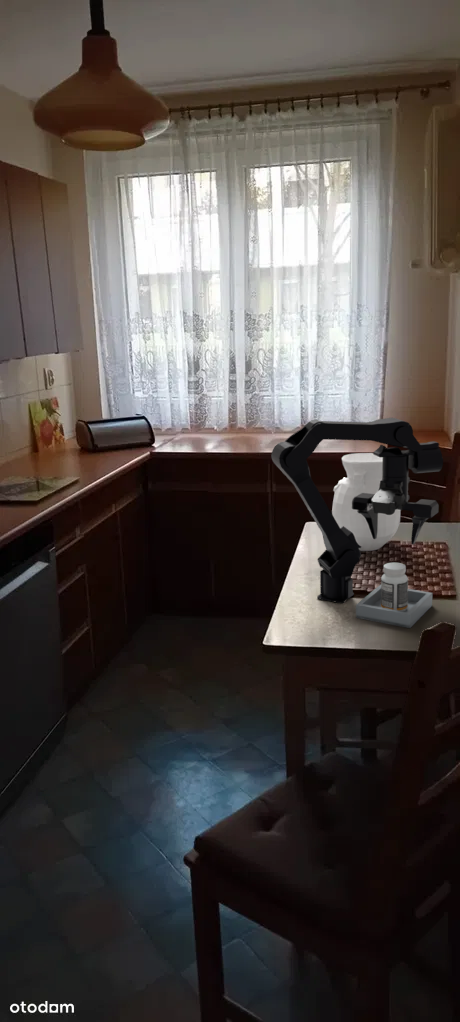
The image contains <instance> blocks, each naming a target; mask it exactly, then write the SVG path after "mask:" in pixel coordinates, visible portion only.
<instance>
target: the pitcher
mask: <svg viewBox="0 0 460 1022" xmlns="http://www.w3.org/2000/svg"><path fill="white" fill-rule="evenodd" d="M382 459H383V457H378V456H376V455H374V454H373V452H359V453H358V452H357V453H349V454H345V455H343V456H342V457H341V463H342V466H343V468H344V470H345V472H346V476H347V477H343V478H342V479H340V480H338V483H337V484H336V485H335V486H334V487H333V492H334V495H333V501H332V510H331V513H332V515H333V517H334V519H335V520H336V522H337V524H338V525H339V527H340V529H341V528H342V527H343V526H344V527H345V528H347V529H348V530H349V531H351V532H352V533H353V534H354V537H355V539H356V542H357V543H358V544H359V545H360V546H361V548H359V550H360V552H368V551H370V552H371V551H377V550H380V549H381V548H382V547H383V546H384V545H385V544H387V543H388V542H389V541H390V540H391V539H392V538H393V536H394V535H396V532H398V530H399V529H398V528H399V526H400V523H401V511H402V510H398V509H396V510H395V512H394V514H392V515H386V514H382V513H378V530H377V538H376V539H373V537H372V534H371V531H370V528H369V525H368V523H367V521H366V519H365V517H364V516H363V515H362V514H360V513H358V512H357V511H358V510H354V509H352V500H353V498H354V497H356V496H358V495H359V494H361V493H368V494H376V492H377V491H378V490H379V487H380V481H381V480H382Z"/></svg>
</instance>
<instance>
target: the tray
mask: <svg viewBox="0 0 460 1022" xmlns="http://www.w3.org/2000/svg"><path fill="white" fill-rule="evenodd" d="M432 606H433V592H429V591H422V590H417V589H411V588H408V607H407V610H406V611H404V612H403V611H398V610H392V609H387V608H381V584H379V585H378V586H377V587H376V588H374V589H373V590H372V591H371V592H369V593H368V595H366V596H365V597H363V598H362V599H361V600H360V601H358V602H357V603H356V604H355V618H356V619H360V620H365V621H370V622H375V623H379V624H385V625H390V626H397V627H401V628H405V629H406V628H407V629H411V628H412V627H413V626H414V625H415V624H416V623H417V622H418V621H419V620H420V619H421V617H423V616H424V615H425V614H426V612H427V611H428V610H430V609H431V607H432Z"/></svg>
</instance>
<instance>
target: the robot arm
mask: <svg viewBox="0 0 460 1022" xmlns="http://www.w3.org/2000/svg"><path fill="white" fill-rule="evenodd" d="M324 440H329V441H330V440H334V441H336V440H337V441H368V442H369V441H372V442H375V443H379V444H380V445H379V446H378V448H377V449H375V450H374V451H373V452H372V453H373V454H374V455H376V456H378V457H383V459H382V480H381V481H380V487H379V490H378V491H377V492H376V494H368V493H361V494H359V495H358V496H356V497H354V498H353V500H352V509H354V510H358V511H357V512H358V513H360V514H362V515H363V516H364V517H365V519H366V521H367V523H368V525H369V528H370V531H371V534H372V537H373V539H376V538H377V530H378V513H382V514H386V515H392V514H394V512H395V510H396V509H398V510H401V511H409V512H412V514H413V515H414V516H412V517H411V521H412V529H411V530H412V531H411V542H410V543H411V545H415V544H416V541H417V539H418V537H419V535H420V532H421V530H422V527H423V525H424V524H425V522H426V521H427V520H428V519H432V518H433V517H434V516H435V515H437V514H438V513H439V507H440V506H439V503H438V502H437V500H434V499H422V498H421V499H419V500H418V501H416V502H410V501H409V500H410V495H409V492H408V491H409V483H410V482H411V478H410V477H409V470H411V471H412V473H414V474H423V473H424V474H425V473H433V472H434V473H435V472H440V471H441V470H442V468H443V466H444V458H443V455H442V451H441V449H440V443H439V442H437V441H428V442H419V441H418V439H417V438H416V436H415V435H414V430H413V427H412V425H411V424H410V423H409V422H407V421H406V420H402V419H399V418H396V417H386V418H380V419H376V420H373V421H367V422H365V421H364V422H363V421H362V422H361V421H331V420H328V421H327V420H318V419H312V420H310V421H308V422H307V423H306V424H305V425H304V426H303V427H302V428H300V429H299V430H297V431H295V432H294V433H293V434H291V435H290V436H288V438H286V439H285V440H284V441H280V442H279V443H277V444H276V445H274V447H273V449H272V451H271V460H272V462H273V464H274V465H275V466H276V468H278V469H279V470H280V471H281V472H282V474H283V475H284V476H286V478H287V479H288V480H289V482H291V483H292V485H293V486H294V488H295V489H296V491H297V492H298V494H299V497H300V498H301V500H302V501H303V503H304V505H305V506H306V508H307V510H308V511H309V514H310V515H311V517H312V518H313V520H314V522H315V523H316V525H317V527H318V529H319V530H320V532H321V533H322V539H323V544H324V547H325V550H324V552H322V554H321V555H320V556H319V557H318V558H317V563H318V565H319V568H322V569H321V570H320V573H319V575H320V577H319V579H320V581H319V583H320V584H319V585H320V586H319V587H320V588H319V589H320V590H319V591H320V592H319V594H318V595H317V596H316V599H317V600H323V601H327V602H333V603H339V604H343V603H345V602H347V601H348V600H349V599H351V597H352V596H354V595H355V593H354V592H353V588H354V585H353V584H354V583H353V581H354V579H353V578H352V576H353V573H354V570H355V568H356V565H357V564H358V563H359V562H360V560H361V557H362V553H361V552H362V551H360V550H359V548H361V546H360V545H359V544H358V543H357V542H356V539H355V537H354V534H353V533H352V532H351V531H349V530H348V529H347V528H345V527H344V526H343V527H342V528H341V529H340V527H339V525H338V524H337V522H336V520H335V519H334V517H333V515H332V511H331V510H330V508H329V506H328V505H327V503H326V501H325V500H324V497H322V494H321V493H320V491H319V489H318V487H317V485H316V484H315V482H314V480H313V479H312V475H311V471H310V466H309V463H308V461H307V459H308V458H309V457H310V456H312V454H314V451H315V450H316V449H317V448H318V446H319V444H320V443H321V442H322V441H324ZM384 444H385V445H384ZM386 445H388V446H393V447H386ZM400 448H404V449H403V450H401V449H400ZM405 449H407V450H405Z"/></svg>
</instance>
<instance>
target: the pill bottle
mask: <svg viewBox="0 0 460 1022" xmlns="http://www.w3.org/2000/svg"><path fill="white" fill-rule="evenodd" d="M406 572H407V567H406V564H403V563H401V562H387V563H385V564H383V574H382V575H381V577H380V585H381V608H387V609H392V610H398V611H403V612H404V611H406V610H407V607H408V589H409V578H408V575H406Z"/></svg>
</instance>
